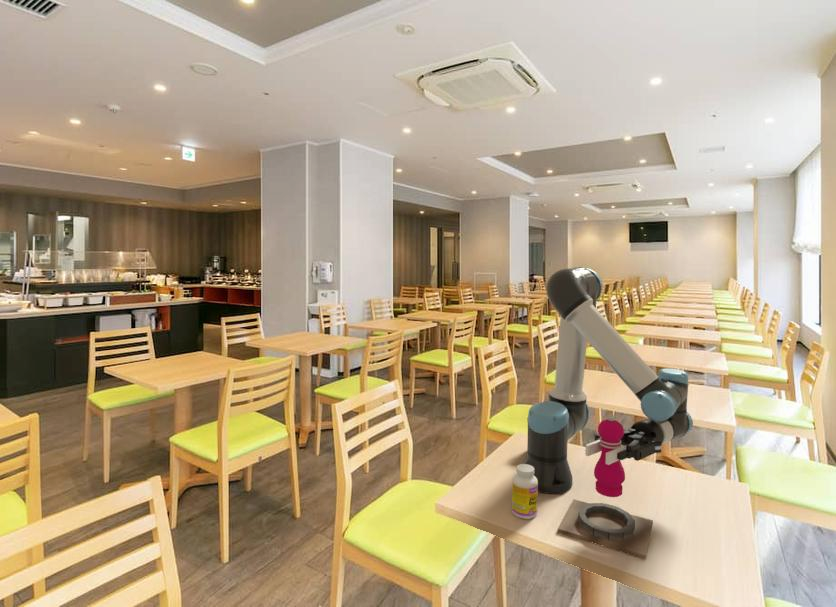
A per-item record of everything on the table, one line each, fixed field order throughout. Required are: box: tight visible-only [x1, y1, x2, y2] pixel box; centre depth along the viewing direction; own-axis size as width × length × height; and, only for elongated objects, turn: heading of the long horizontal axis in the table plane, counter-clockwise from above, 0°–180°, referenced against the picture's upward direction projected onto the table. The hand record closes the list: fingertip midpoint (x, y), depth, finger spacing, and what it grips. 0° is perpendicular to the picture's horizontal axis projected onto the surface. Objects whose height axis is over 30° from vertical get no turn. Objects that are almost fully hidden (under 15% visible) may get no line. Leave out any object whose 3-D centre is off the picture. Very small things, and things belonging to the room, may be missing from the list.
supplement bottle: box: [511, 463, 538, 520], centre depth 126 cm, size 7×7×13 cm
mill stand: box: [557, 498, 654, 560], centre depth 119 cm, size 20×16×3 cm
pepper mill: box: [593, 413, 626, 498], centre depth 117 cm, size 7×7×20 cm
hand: (596, 454), depth 114 cm, fingers closed on pepper mill, 5 cm apart
